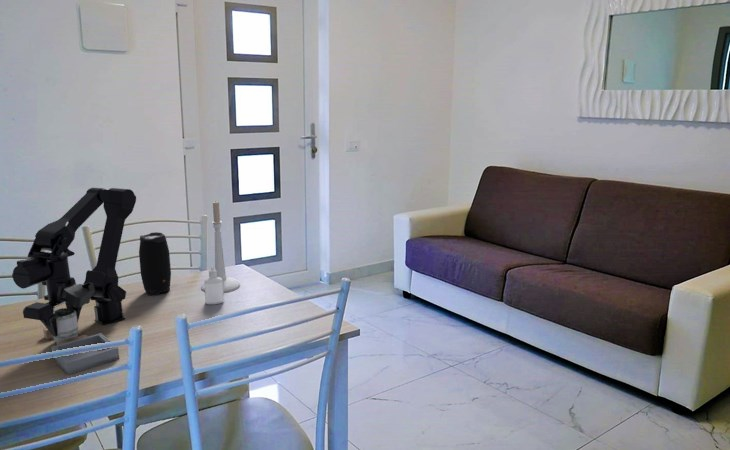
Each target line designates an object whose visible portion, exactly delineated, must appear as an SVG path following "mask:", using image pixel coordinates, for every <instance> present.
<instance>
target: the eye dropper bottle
mask: <svg viewBox="0 0 730 450" xmlns="http://www.w3.org/2000/svg"><path fill="white" fill-rule="evenodd" d="M203 284H204V286H205V291H204V296H205V304H206V305H217V304H223V303H224V301H225V297H224V293H223V281H222V278H220V277H217V270H215V265H212V266H210V270H208V277H207V278H204V282H203Z"/></svg>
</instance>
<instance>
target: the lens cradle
mask: <svg viewBox="0 0 730 450" xmlns="http://www.w3.org/2000/svg"><path fill="white" fill-rule="evenodd" d="M43 335H44V338H45V339H46V340H49V339H54V338H53V336H52V334H51V333H50V332H49V330H48V329H47V328H46V327H45V328H44V327H43ZM85 337H88V335H87V334H82V335H80V336H79V335H78V337H75V338H71V339H67V340H64V341H60V342H56V345H60V344H63V343H67V342H71V341H74V340H78V339H81V338H85Z"/></svg>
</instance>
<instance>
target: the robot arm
mask: <svg viewBox="0 0 730 450" xmlns="http://www.w3.org/2000/svg"><path fill="white" fill-rule="evenodd" d="M136 202H137V196H136V194H135V192H134V191H133V190H132V189H130V188H129V189H128V188H117V187H111V188H108V189H106V188H103V187H90V188H88V189H87V190H86V192H85V194H84V195H83V196H82V197H81V198H80V199H78V201H77V202H76V203H75V204H74V205H72V206H71V208H70V209H69V210H67V212H65V213H64V214H63V215H62V217H60V218H59V219H57V220H55V221H52V222H50V223H47V224H46V225H44V226H43V227H41V229H39V230H37V232H36V233H35V235H34V237H35V238H34V240H33V242H32V244H31V247H30V249H29V251H28V254H27V258H26V259H20V260H16V266H15V267H14V268H13V271H12V274H11V276H12V277H11V278H12V280H13V282H14V283H15V285H16V286H17V287H18V288H19V289H27V288H30V287H33V286H35V285H38V284H40V283H41V284H42V286H45V287H46V293H47V294H46V295H44V296H43V298H44V300H45V301H48V302H45V303H44V302H37V301H36V302H34V303H32V304H29V305H27V306H25V307H23V309H22V313H23V318H24V319H30V320H36V321H40V322H41V323H42V324H43V325H44V326H45V328H47V329H48V330H49V332H50V333H51V334H52V335H53V336H55V337H56V336H57V323H56V318H57V317H58V315H59V314H58V313H55V311H56V310H55V308H57V307H60V306H61V305H63V304H65V308H71V309H74V310H75V311H76V315H77V322H78V323H79V319H80V315H81V311H82V308H83V306H84V305H88V304H89V303H90V301H95V305H94V307H93V310H94V316H95V317H94V318H95V320H96V321H97V322H99V324H101V325H108V324H112V323H116V322H119V321H123V320H126V316H124V313H123V304H122V302H123V300H125V299H126V295H127V291H126V290H125V289H123V288H122V287H120V286H119V276H118V273H117V270H116V265H117V259H118V257H119V256H118V255H119V250H120V246H121V240H122V236H123V231H124V226H125V222H126V220H127V218H128V217H129V216H130V215H131V214H133V213H132V212H133V211H134V208H135V206H136ZM101 206H103V210H104V213H105V216H106V219H105V225H104V228H103V233H102V237H101V243H100V246H99V250H98V251H99V252H98V257H97V261H96V264H95V266H94V268H92V270H89V269H88V270H87V271H86V273H85V280H84V282H83V283H79V284H77V283H76V279H75V277H71V273H70V272H71V271H70V267H69V266H70V265H69V257H72V256H74V255H75V253H76V252H74V251H72V250H70V249H69V247H70V246H71V244H72V243H73V241H74V239H75V237H76V232H77V231H78V230H79V228H80V227H81V226H82V225H83V224H85V222H86V221H88V219H89V218H90V217H91V216H92V215H93V214H94V213H95V212H96V211H97V210H98V209H99V208H100V207H101ZM47 251H48V252H47Z"/></svg>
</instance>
